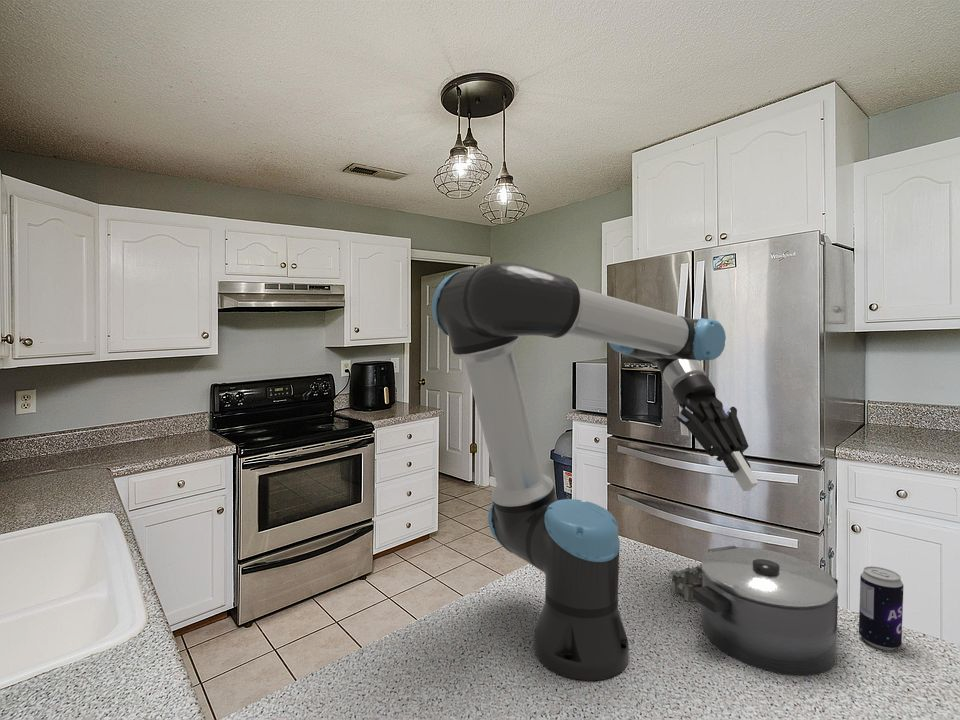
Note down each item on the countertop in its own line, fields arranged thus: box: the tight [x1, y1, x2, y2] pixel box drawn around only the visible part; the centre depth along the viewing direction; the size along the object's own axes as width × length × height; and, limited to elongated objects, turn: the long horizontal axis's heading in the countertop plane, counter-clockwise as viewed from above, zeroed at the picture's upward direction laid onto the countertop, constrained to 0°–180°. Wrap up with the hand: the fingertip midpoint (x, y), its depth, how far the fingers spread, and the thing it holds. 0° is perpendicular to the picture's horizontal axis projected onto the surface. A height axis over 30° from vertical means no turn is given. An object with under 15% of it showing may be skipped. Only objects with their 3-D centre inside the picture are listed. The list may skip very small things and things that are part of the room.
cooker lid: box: [701, 545, 838, 609], centre depth 88 cm, size 20×20×2 cm
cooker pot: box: [693, 573, 839, 676], centre depth 88 cm, size 26×20×10 cm
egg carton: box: [667, 563, 703, 603], centre depth 105 cm, size 11×8×4 cm
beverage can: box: [858, 565, 904, 651], centre depth 86 cm, size 6×6×12 cm
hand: (750, 487), depth 91 cm, fingers closed
